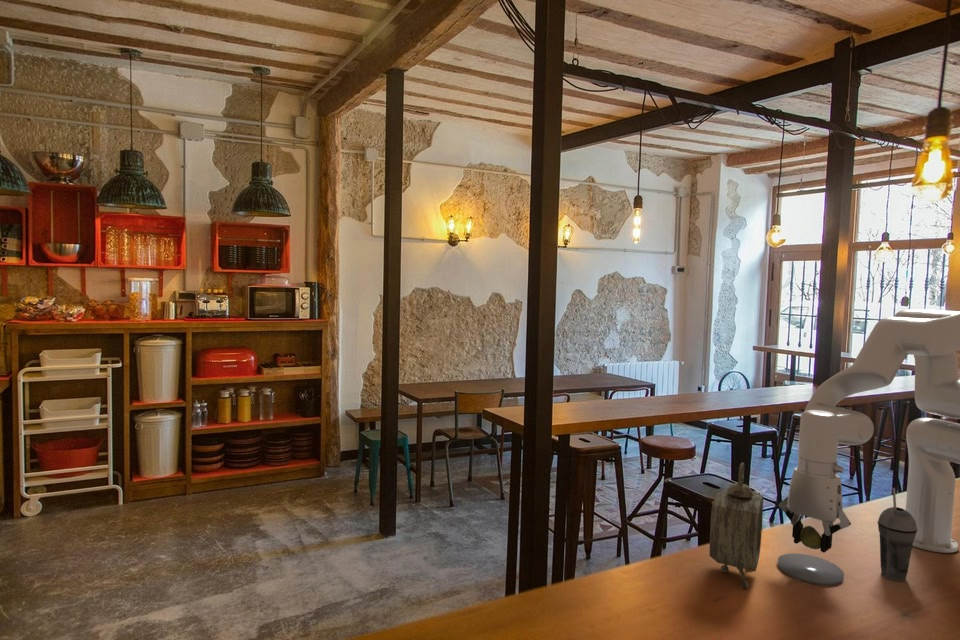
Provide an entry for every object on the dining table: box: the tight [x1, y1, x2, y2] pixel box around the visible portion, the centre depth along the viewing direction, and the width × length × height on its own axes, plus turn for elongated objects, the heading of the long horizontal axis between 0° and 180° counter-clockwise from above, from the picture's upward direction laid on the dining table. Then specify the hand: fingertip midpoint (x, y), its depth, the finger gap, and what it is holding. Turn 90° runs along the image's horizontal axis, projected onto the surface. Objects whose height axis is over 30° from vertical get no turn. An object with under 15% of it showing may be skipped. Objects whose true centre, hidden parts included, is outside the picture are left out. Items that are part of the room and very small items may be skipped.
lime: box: [800, 525, 822, 550], centre depth 134 cm, size 4×5×5 cm
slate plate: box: [777, 553, 845, 586], centre depth 135 cm, size 13×13×1 cm
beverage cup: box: [877, 487, 917, 583], centre depth 132 cm, size 7×7×20 cm
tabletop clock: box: [708, 462, 764, 589], centre depth 131 cm, size 14×9×25 cm, turn 150°
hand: (811, 545), depth 134 cm, fingers closed on lime, 4 cm apart
